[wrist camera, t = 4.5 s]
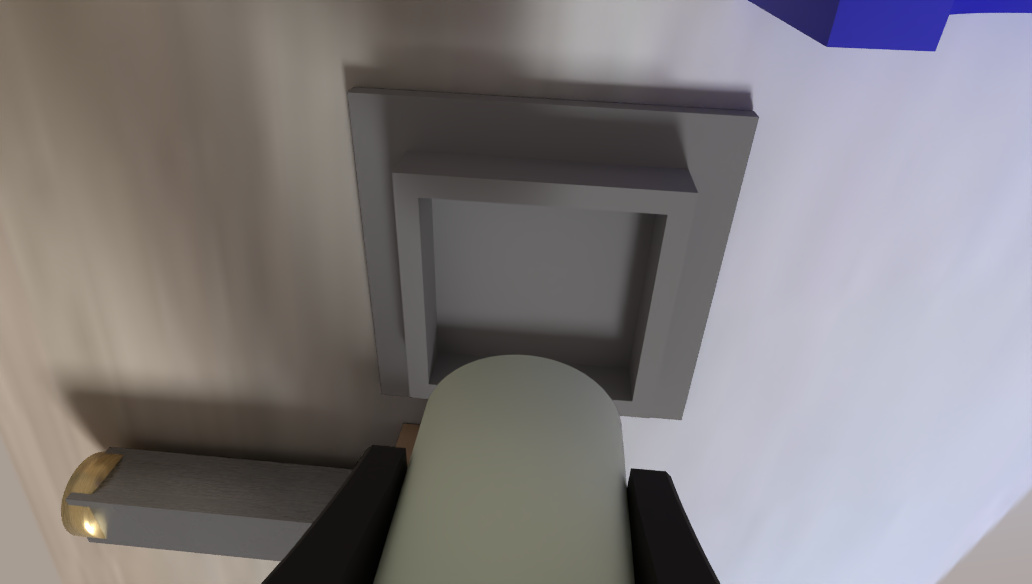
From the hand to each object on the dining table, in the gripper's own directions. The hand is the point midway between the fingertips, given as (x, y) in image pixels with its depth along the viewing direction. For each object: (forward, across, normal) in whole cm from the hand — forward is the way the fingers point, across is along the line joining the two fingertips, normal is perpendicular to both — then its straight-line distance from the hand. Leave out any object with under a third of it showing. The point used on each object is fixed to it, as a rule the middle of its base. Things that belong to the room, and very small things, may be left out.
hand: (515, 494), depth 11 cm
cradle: (+8, 0, 0) cm, 8 cm away
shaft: (+8, +9, +10) cm, 16 cm away
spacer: (+1, 0, 0) cm, 1 cm away
